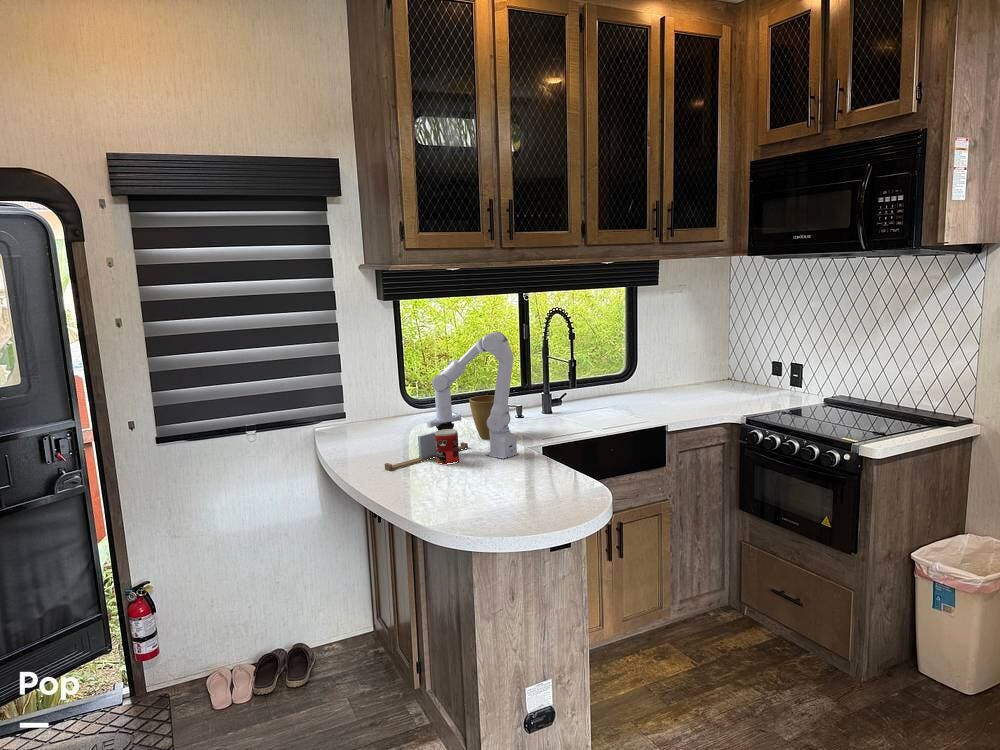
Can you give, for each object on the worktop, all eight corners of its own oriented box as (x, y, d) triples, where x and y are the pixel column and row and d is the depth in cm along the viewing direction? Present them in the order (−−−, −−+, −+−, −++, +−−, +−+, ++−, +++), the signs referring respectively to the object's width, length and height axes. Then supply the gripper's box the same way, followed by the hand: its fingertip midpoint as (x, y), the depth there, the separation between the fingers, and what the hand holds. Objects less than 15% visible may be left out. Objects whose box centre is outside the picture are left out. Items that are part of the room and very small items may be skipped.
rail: (468, 448, 260) (467, 443, 260) (389, 470, 236) (389, 465, 236) (463, 447, 262) (462, 442, 262) (385, 469, 238) (384, 463, 238)
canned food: (434, 461, 245) (431, 431, 244) (455, 457, 248) (453, 427, 247) (440, 466, 238) (438, 435, 237) (462, 462, 241) (460, 432, 240)
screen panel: (444, 452, 253) (442, 431, 252) (422, 458, 246) (420, 436, 245) (440, 451, 254) (439, 430, 253) (418, 457, 248) (417, 436, 246)
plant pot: (485, 444, 265) (483, 403, 263) (464, 438, 277) (461, 398, 274) (516, 437, 274) (514, 397, 271) (494, 431, 285) (492, 393, 283)
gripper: (452, 402, 260) (454, 437, 262) (421, 409, 250) (423, 445, 253) (464, 404, 255) (466, 440, 257) (433, 411, 245) (435, 448, 247)
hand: (446, 442), depth 254 cm, fingers closed
